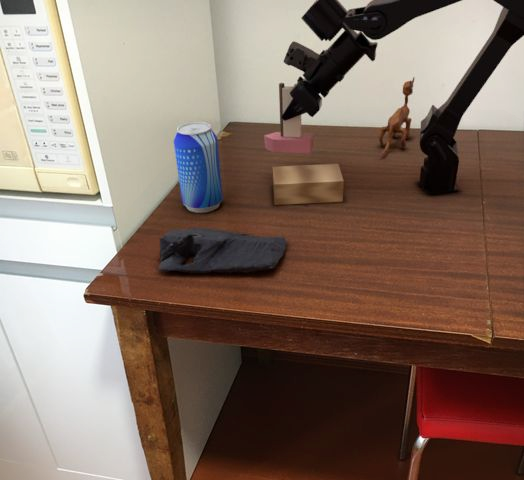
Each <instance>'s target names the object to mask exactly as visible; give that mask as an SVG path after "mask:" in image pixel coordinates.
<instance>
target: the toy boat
mask: <svg viewBox="0 0 524 480" xmlns="http://www.w3.org/2000/svg"><path fill="white" fill-rule="evenodd" d="M293 87H294V86H292V85H291V86H289V85H288V86H286V85H285V83H284V82H280V83H278V93H279V94H278V96H279V98H278V101H279V126H280V127H279V128H280V129H279V130H280V131H275V132H271V133H268V134H263V135H264V149H265V150H267V151H270V152H272V153H279V154H280V153H281V154H311V152H312V150H313V148H314V132H302V115H299V116H296V117H294V118H291V119H289V120H286V121H284V120H283V119H282V118H281V116H282V115H283V113H284V112H285V110H286V109H287V107H288V105H289V104H290V102H291V101H292V99H293V98H292V97H291V95H290V91H291V90H292V88H293Z"/></svg>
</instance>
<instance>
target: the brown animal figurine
mask: <svg viewBox="0 0 524 480" xmlns="http://www.w3.org/2000/svg"><path fill="white" fill-rule="evenodd" d="M414 81H415V76H413V78H412V79H411V80H408V81H405V82H404V83H403V85H402V94H403V95H404V103H403V106H401V107H399V108H397V109H396V111H395V112H394V113H393V114H392V115H391V116H390V117H389V118H388V120H387V125H385V126H382V127H381V128H380V129H379V132H378V141H379V144H380V146H383V145H384V140H383V139H384V136H385V134H386V132H388V137H387V141H386V145H385V146H384V147H385V148H384V149H383V150H382V151H381V153H380V154H381V155H382V156H383V155H385V154H386V153H387V152H388V150H389V149H390V146H391V143H392V139H393V138H398V135H397V134H401V139H400V146H401V149H404V148H405V147H406V146H407V145H406V139H407V140H409V139H410V138H411V136H410V131H411V123H412V118H411V117H409V115H410V113H411V111H410V108H409V107H408V103H409V97H410V96H411V95H413V93H414V91H413V90H414V89H413V88H414ZM404 124H405V128H404V127H402V126H403V125H404Z"/></svg>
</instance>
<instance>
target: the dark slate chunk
mask: <svg viewBox="0 0 524 480" xmlns="http://www.w3.org/2000/svg"><path fill="white" fill-rule="evenodd" d="M287 245H288V242H287V240H286V237H284V236H261V235H253V234H252V235H251V234H247V233H241V232H238V231H237V232H235V231H229V230H221V229H213V228H201V227H198V228H197V227H190V228H187V229H175V230H169V231H167V232H166V234H163V236H161V237H160V238H159V255H160V258H159V259H160V263H159V265H158V268H157V270H159V271H160V272H165V273H171V272H182V273H184V274H187V273H190V274H194V273H197V274H209V273H220V274H221V273H222V274H223V273H228V274H233V273H244V274H245V273H251V274H255V273H256V272H260V271H267V270H271V269H272V270H273V269H274V268H275V267H276V266H277V265H278V264H279V261H280V259H281V258H282V257H283V256H284V252H285V251H286V249H287ZM190 256H194V257H193V262H190V263H187V264H185V262H186V261H187V259H188V257H190Z"/></svg>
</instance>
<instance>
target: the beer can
mask: <svg viewBox="0 0 524 480" xmlns="http://www.w3.org/2000/svg"><path fill="white" fill-rule="evenodd" d="M176 131H177V132H176V134H175V137H174V139H173V146H174V153H175V154H174V155H175V160H176V161H175V162H176V167H177V169H176V170H177V174H178V175H177V176H178V183H179V189H180V197H181V203H182V204H183V206H185V207H186V209H187V211H189V212H193V213H195V214H196V213H197V214H203V213H204V214H205V213H210V212H213V211H215V210H217V209H218V208H220V204H221V203H222V202H223V200H224V197H223V195H224V194H223V187H222V185H223V184H222V174H221V164H220V153H219V142H218V135H216V133H215V132H214V130H213V129H212V125H211V124H210V123H208V122H204V121H190V122H186V123H182V124H179V126H177V128H176Z"/></svg>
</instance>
